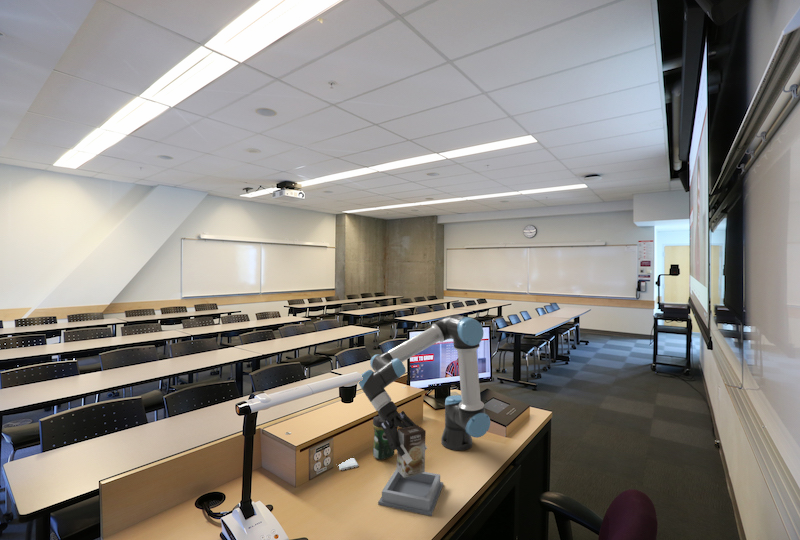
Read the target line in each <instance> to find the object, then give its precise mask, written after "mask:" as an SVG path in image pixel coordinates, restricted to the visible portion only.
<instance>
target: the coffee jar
mask: <svg viewBox="0 0 800 540" xmlns="http://www.w3.org/2000/svg"><path fill="white" fill-rule="evenodd" d="M372 420H373V421H372V426H373V430H374V432H373V435H374V436H373V444H372V445H373V446H372V455H373V457H374V458H375V459H377V460H386V459H390V458H392V457H394V455H395V450H393V449H391V448H390V446H389V443H388V440H387V438H386V435H385V432H384V430H383V429H382V427H381V424H382V423H383V422H384V421H385V420H382V419H381V418H380V416H379V415H377V416H374V417H373V419H372ZM392 445H393V444H392Z"/></svg>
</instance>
